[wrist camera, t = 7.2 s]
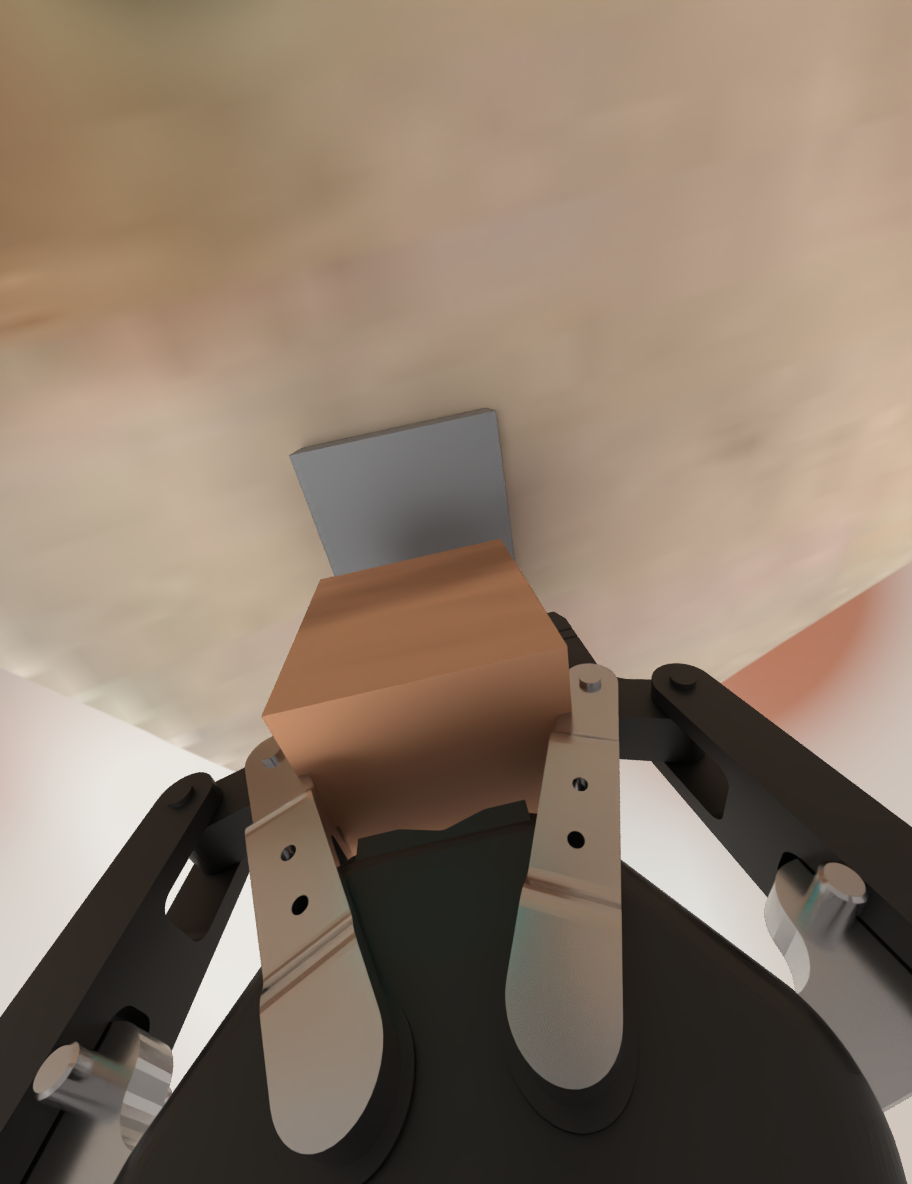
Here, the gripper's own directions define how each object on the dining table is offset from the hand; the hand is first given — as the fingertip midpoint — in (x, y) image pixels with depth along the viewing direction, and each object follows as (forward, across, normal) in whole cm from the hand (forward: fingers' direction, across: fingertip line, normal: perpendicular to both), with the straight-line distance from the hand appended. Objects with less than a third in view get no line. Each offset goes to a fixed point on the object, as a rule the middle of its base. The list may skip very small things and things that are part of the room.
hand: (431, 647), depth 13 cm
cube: (+1, 0, 0) cm, 1 cm away
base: (+12, 0, 0) cm, 12 cm away
